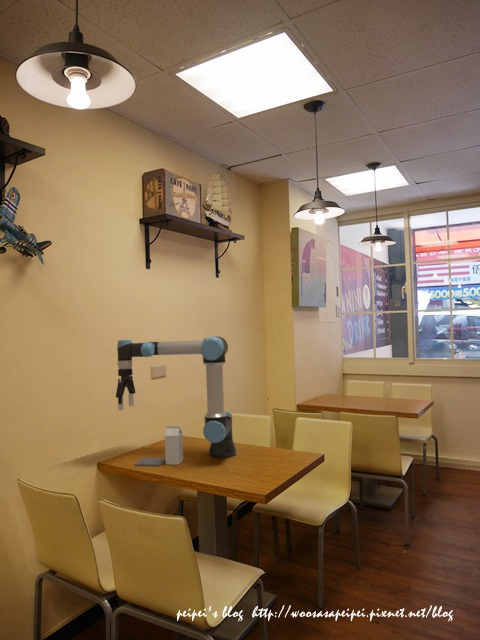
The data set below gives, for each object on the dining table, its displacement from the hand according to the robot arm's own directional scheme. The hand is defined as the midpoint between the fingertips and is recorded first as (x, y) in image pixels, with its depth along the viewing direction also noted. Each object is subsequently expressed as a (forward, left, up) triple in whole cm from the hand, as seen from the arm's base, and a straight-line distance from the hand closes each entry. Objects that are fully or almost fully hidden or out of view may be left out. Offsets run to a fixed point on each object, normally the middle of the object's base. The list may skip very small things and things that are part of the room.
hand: (126, 407), depth 247 cm
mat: (-15, +4, -28) cm, 32 cm away
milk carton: (-27, +4, -28) cm, 39 cm away
